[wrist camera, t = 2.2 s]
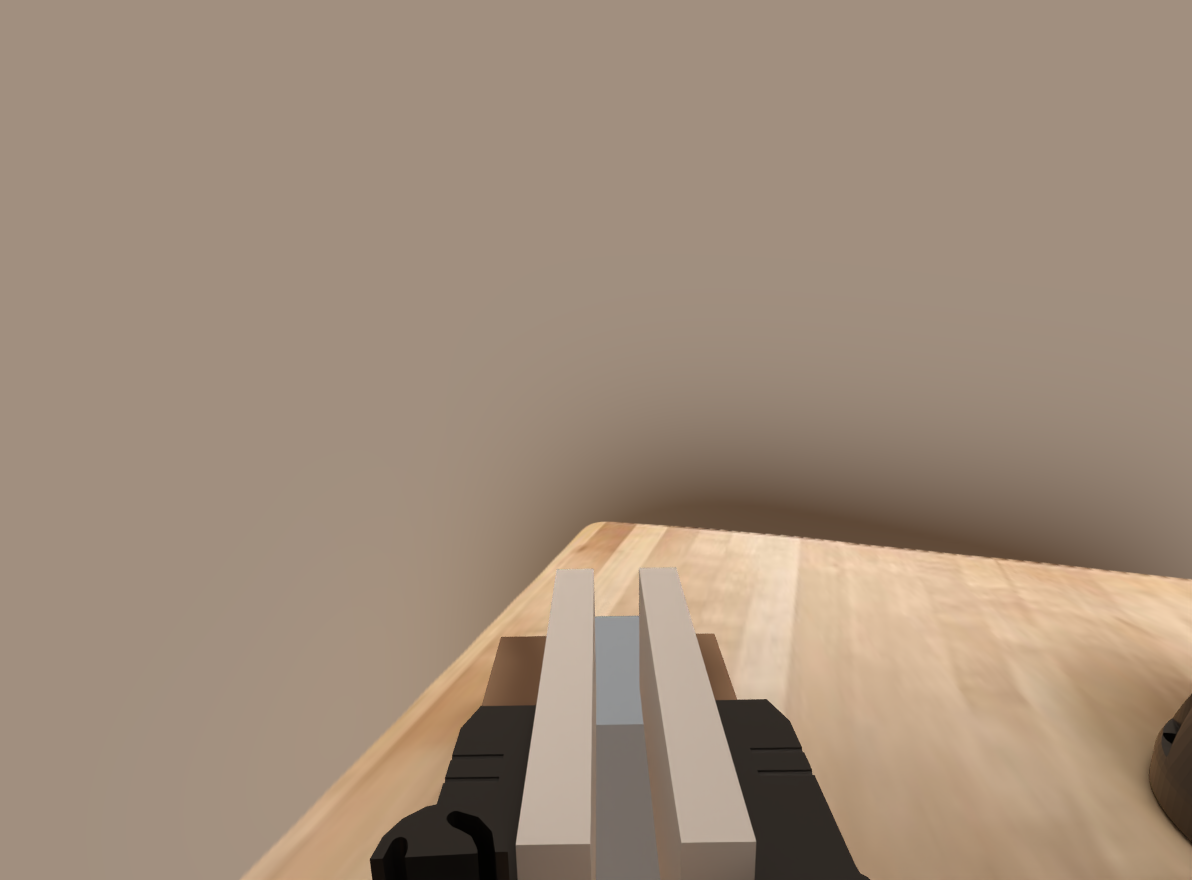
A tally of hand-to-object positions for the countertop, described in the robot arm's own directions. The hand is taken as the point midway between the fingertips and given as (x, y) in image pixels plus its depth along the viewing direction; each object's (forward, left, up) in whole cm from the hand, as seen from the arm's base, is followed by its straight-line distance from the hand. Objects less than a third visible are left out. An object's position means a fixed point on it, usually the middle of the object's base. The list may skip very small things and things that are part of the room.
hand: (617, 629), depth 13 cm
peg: (0, -12, -22) cm, 25 cm away
